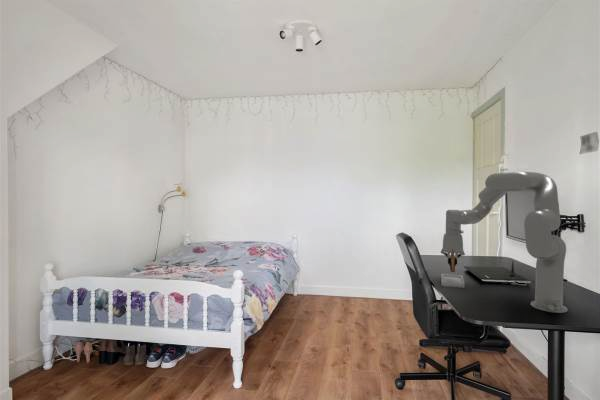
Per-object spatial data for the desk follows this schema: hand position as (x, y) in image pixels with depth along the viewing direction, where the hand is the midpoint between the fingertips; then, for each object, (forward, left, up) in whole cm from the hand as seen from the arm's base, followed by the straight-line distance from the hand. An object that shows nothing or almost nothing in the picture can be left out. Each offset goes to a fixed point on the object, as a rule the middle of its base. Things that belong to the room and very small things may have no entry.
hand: (452, 265), depth 181 cm
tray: (0, 0, -10) cm, 10 cm away
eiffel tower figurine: (+15, -31, -10) cm, 36 cm away
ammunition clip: (0, 0, -3) cm, 3 cm away
